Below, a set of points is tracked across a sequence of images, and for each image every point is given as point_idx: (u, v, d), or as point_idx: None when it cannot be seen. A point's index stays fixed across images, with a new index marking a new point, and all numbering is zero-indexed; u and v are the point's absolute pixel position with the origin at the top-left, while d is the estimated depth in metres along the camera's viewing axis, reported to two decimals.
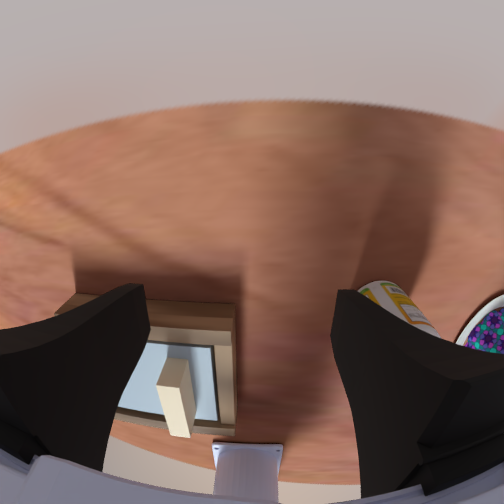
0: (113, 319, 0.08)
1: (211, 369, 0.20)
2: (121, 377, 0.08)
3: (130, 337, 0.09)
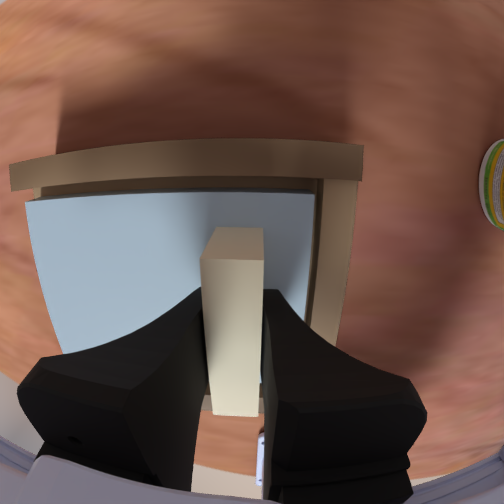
0: (200, 327, 0.08)
1: (308, 252, 0.11)
2: (202, 387, 0.08)
3: None
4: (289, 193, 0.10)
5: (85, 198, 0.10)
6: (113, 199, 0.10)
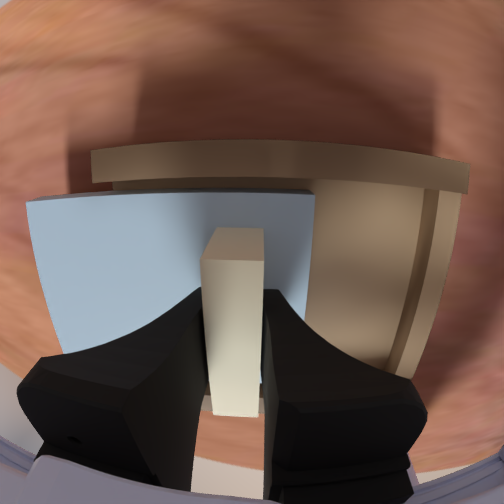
0: (199, 327, 0.08)
1: (309, 253, 0.11)
2: (201, 387, 0.08)
3: None
4: (289, 193, 0.10)
5: (86, 198, 0.10)
6: (113, 199, 0.10)
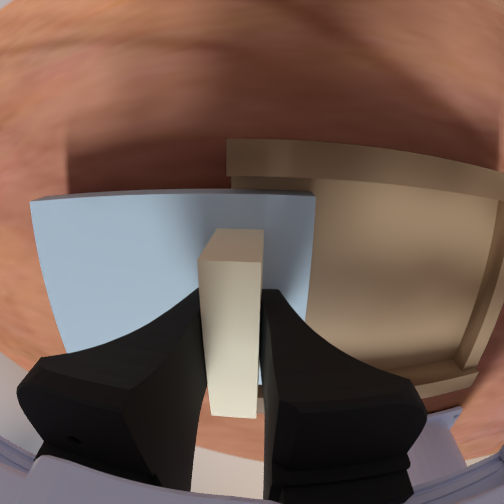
0: (199, 327, 0.08)
1: (309, 255, 0.10)
2: (201, 387, 0.08)
3: None
4: (290, 195, 0.10)
5: (88, 198, 0.10)
6: (115, 200, 0.10)
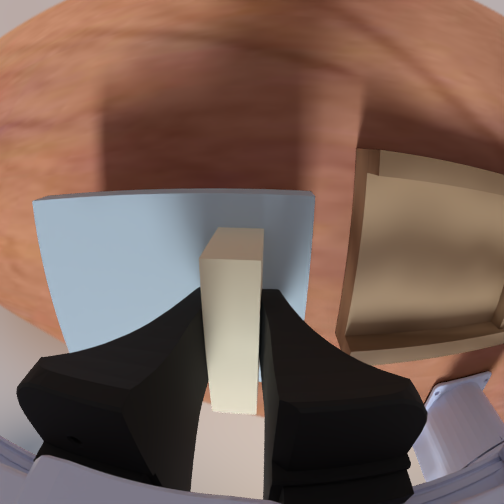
0: (199, 327, 0.08)
1: (309, 253, 0.11)
2: (201, 387, 0.08)
3: None
4: (290, 194, 0.10)
5: (91, 197, 0.10)
6: (118, 199, 0.10)
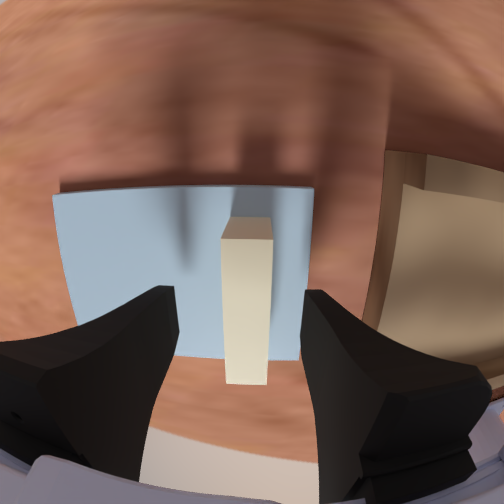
0: (149, 323, 0.08)
1: (309, 239, 0.12)
2: (155, 382, 0.08)
3: (163, 341, 0.09)
4: (292, 188, 0.12)
5: (112, 191, 0.12)
6: (138, 192, 0.12)
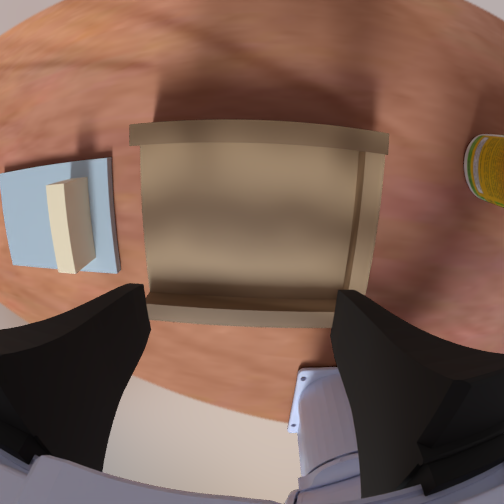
0: (113, 319, 0.08)
1: (107, 188, 0.18)
2: (121, 377, 0.08)
3: (130, 337, 0.09)
4: (97, 159, 0.18)
5: (24, 169, 0.18)
6: (34, 169, 0.18)
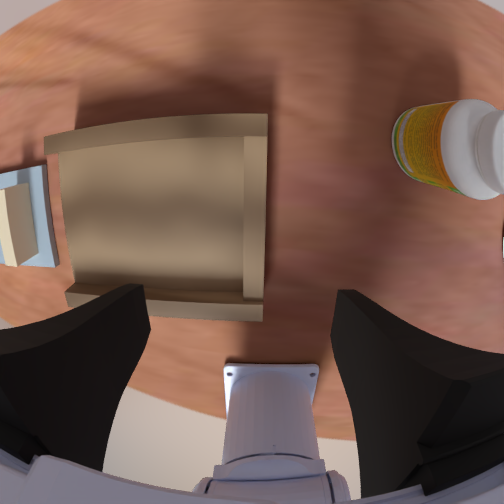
0: (113, 319, 0.08)
1: (43, 191, 0.19)
2: (121, 377, 0.08)
3: (130, 337, 0.09)
4: None
5: None
6: None
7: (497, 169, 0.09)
